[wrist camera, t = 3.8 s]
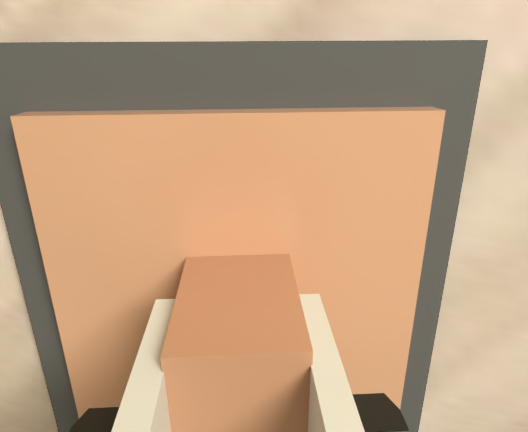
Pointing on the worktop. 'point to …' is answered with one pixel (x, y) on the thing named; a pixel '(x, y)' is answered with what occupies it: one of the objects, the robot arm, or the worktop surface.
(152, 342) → the robot arm
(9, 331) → the worktop surface
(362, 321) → the lid
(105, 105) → the mat
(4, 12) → the worktop surface
